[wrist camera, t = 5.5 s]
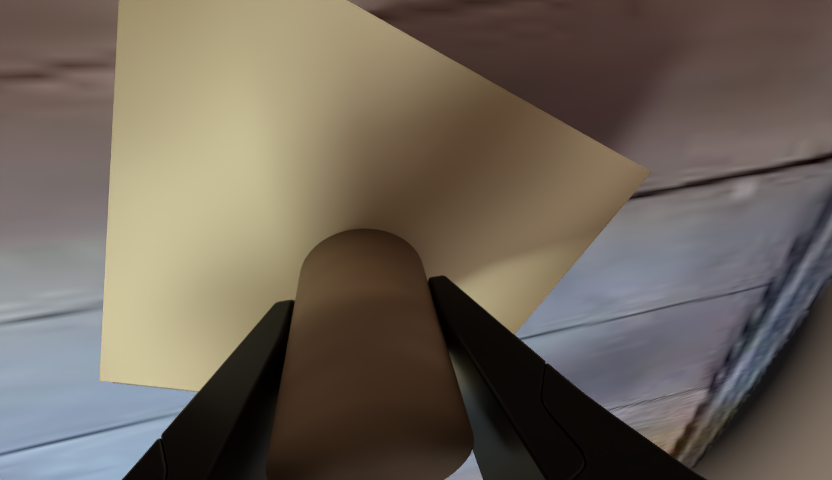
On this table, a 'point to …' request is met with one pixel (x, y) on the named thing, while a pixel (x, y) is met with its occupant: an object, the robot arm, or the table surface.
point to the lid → (330, 219)
